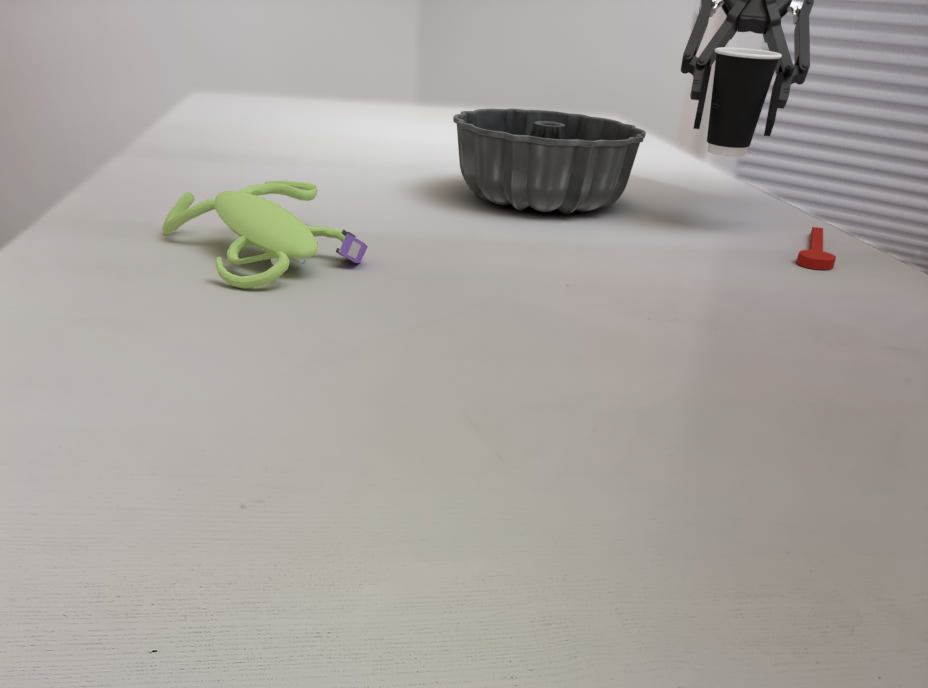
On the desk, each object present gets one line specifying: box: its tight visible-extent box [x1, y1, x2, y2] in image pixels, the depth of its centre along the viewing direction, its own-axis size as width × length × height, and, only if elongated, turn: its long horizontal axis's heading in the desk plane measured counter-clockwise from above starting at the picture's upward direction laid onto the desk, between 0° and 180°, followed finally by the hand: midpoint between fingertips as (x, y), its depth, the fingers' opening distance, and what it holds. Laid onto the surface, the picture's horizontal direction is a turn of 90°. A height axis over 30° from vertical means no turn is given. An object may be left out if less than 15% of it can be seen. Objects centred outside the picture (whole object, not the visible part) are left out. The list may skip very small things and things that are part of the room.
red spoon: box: [796, 226, 837, 271], centre depth 117 cm, size 4×18×1 cm, turn 162°
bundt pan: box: [452, 108, 647, 215], centre depth 127 cm, size 26×26×10 cm
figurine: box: [161, 180, 369, 290], centre depth 101 cm, size 18×27×6 cm
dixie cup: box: [706, 46, 782, 158], centre depth 113 cm, size 8×8×11 cm
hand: (733, 124), depth 112 cm, fingers closed on dixie cup, 8 cm apart
